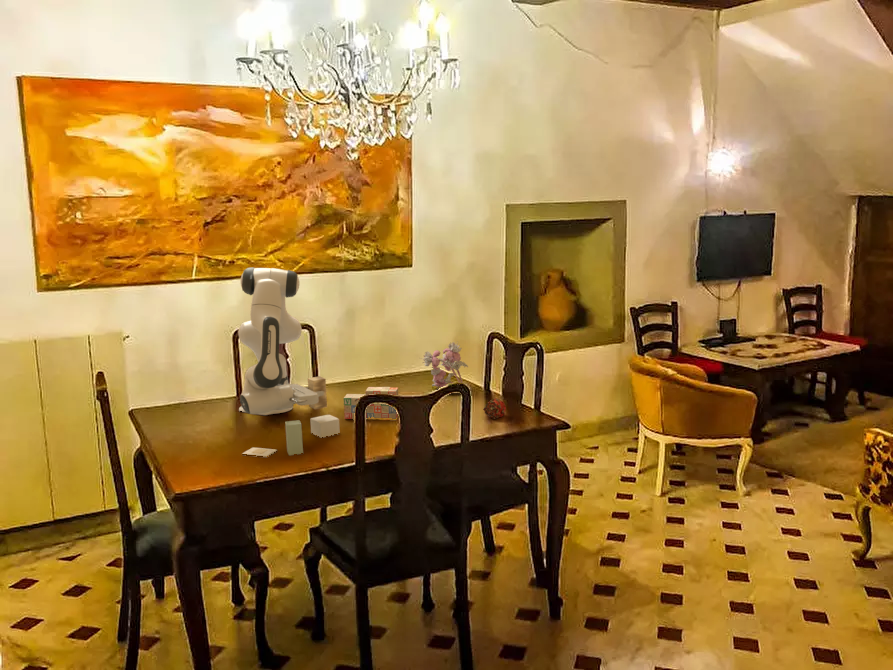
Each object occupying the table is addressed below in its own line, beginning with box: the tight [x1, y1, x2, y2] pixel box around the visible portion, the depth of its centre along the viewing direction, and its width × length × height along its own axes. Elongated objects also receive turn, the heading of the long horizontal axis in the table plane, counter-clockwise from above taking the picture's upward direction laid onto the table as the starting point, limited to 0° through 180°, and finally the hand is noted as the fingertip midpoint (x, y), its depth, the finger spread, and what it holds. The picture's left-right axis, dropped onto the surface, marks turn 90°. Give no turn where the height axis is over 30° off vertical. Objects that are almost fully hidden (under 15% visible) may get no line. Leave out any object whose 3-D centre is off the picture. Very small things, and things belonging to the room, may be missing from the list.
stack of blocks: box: [343, 386, 399, 421], centre depth 345 cm, size 21×6×12 cm, turn 83°
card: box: [241, 446, 278, 458], centre depth 306 cm, size 10×7×1 cm
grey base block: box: [310, 414, 341, 439], centre depth 327 cm, size 8×8×6 cm
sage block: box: [285, 419, 304, 456], centre depth 305 cm, size 5×5×11 cm
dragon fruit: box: [483, 397, 507, 420], centre depth 341 cm, size 8×8×12 cm
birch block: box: [307, 375, 328, 410], centre depth 323 cm, size 5×5×11 cm
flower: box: [419, 341, 469, 389], centre depth 382 cm, size 20×22×25 cm
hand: (319, 390), depth 323 cm, fingers closed on birch block, 5 cm apart
